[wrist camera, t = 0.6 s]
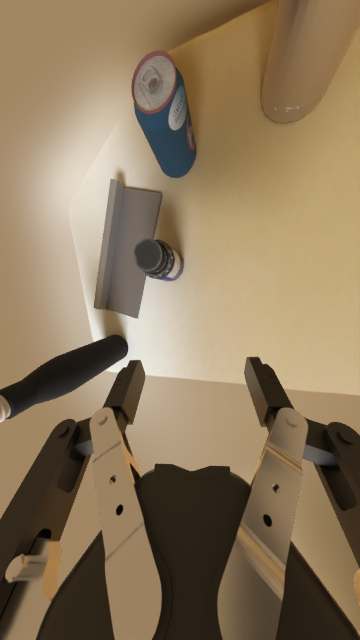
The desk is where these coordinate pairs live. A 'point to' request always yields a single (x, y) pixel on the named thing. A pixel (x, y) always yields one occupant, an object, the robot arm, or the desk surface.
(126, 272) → the price rail shelf
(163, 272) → the pill bottle
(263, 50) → the desk surface
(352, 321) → the desk surface
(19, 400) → the black water bottle
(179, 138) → the soda can
